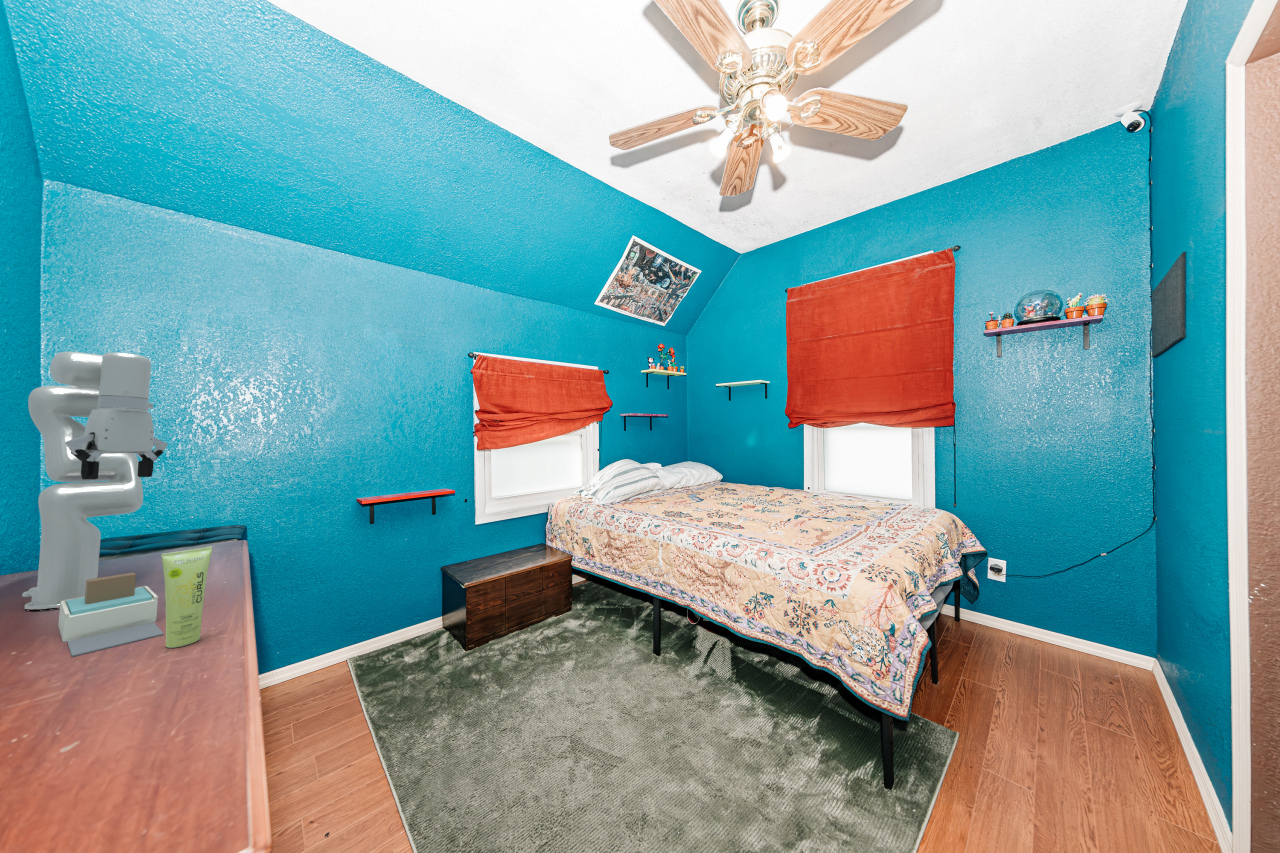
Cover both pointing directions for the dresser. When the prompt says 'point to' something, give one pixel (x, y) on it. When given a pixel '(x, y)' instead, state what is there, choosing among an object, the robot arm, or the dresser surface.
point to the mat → (113, 639)
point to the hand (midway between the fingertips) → (118, 478)
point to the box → (106, 618)
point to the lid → (108, 594)
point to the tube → (185, 594)
